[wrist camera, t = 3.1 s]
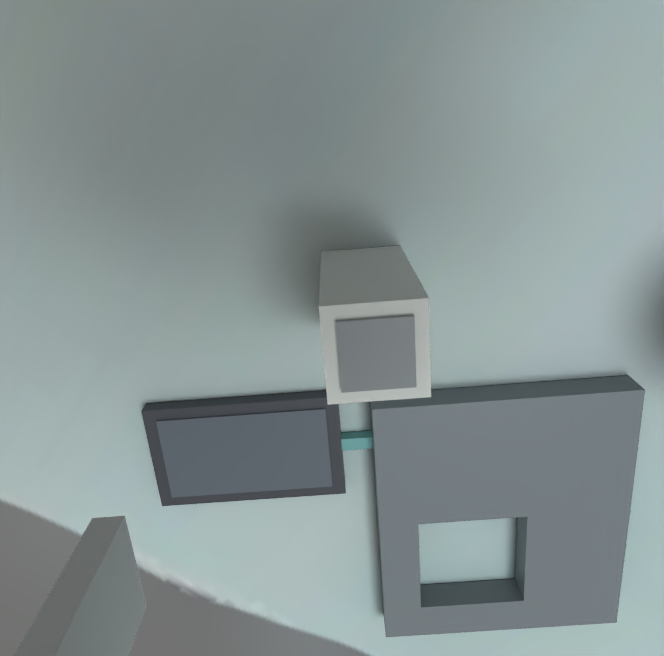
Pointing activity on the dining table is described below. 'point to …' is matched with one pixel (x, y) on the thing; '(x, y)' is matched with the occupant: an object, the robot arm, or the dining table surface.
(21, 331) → the dining table surface
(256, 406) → the phone
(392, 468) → the socket plate
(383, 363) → the block
